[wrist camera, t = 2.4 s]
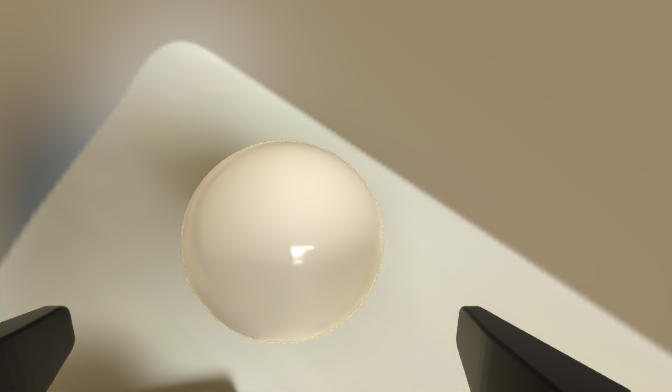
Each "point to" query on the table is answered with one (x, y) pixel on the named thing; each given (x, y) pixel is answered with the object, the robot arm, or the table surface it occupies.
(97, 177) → the table surface
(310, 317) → the lightbulb
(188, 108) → the table surface
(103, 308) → the table surface
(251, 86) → the table surface
